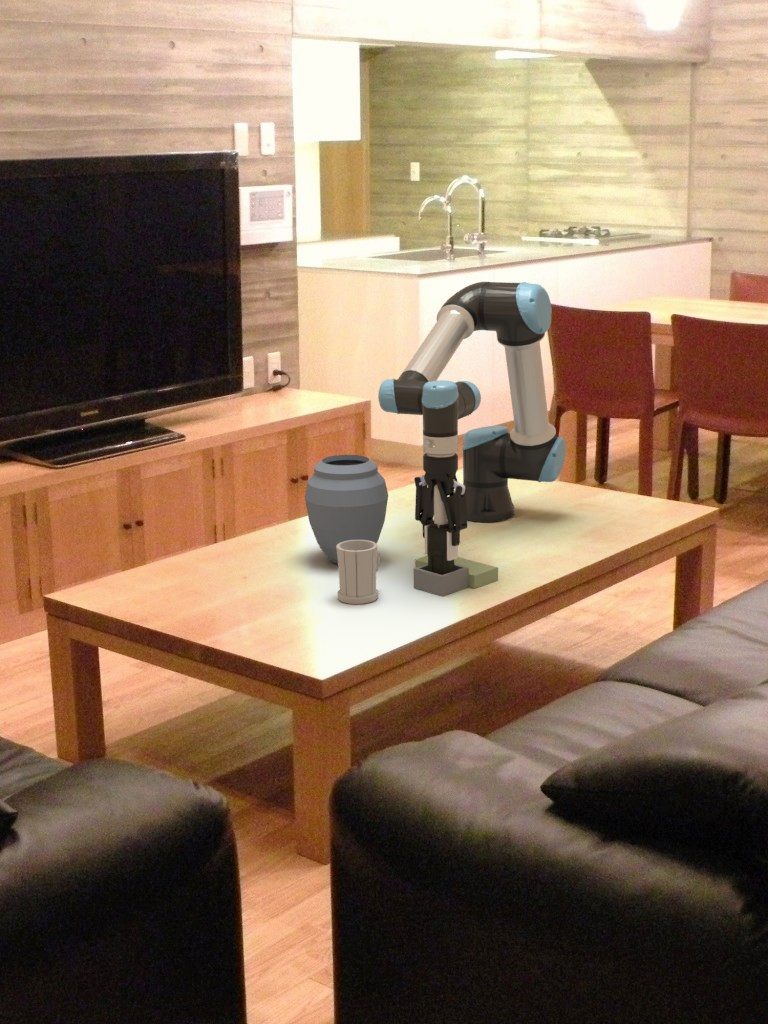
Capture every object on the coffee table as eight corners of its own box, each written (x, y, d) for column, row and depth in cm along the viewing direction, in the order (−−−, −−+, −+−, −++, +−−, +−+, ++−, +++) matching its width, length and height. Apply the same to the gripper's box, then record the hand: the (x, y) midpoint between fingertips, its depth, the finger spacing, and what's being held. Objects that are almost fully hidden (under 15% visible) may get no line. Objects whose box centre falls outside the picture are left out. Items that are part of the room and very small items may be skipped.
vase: (289, 562, 326) (285, 461, 319) (347, 543, 339) (345, 447, 333) (348, 578, 313) (346, 474, 306) (406, 558, 326) (405, 458, 320)
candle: (455, 578, 306) (455, 469, 300) (449, 585, 302) (448, 474, 295) (433, 576, 308) (432, 467, 301) (426, 583, 303) (425, 473, 297)
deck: (388, 580, 311) (388, 561, 309) (438, 564, 322) (438, 545, 321) (448, 598, 298) (448, 578, 297) (498, 580, 310) (498, 561, 308)
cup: (339, 589, 305) (338, 537, 302) (380, 589, 305) (379, 537, 302) (336, 605, 295) (334, 551, 292) (378, 604, 295) (377, 551, 292)
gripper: (396, 450, 301) (398, 551, 307) (461, 463, 288) (462, 568, 294) (420, 444, 306) (421, 544, 312) (485, 456, 293) (485, 560, 300)
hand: (441, 555), depth 303 cm, fingers closed on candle, 6 cm apart
